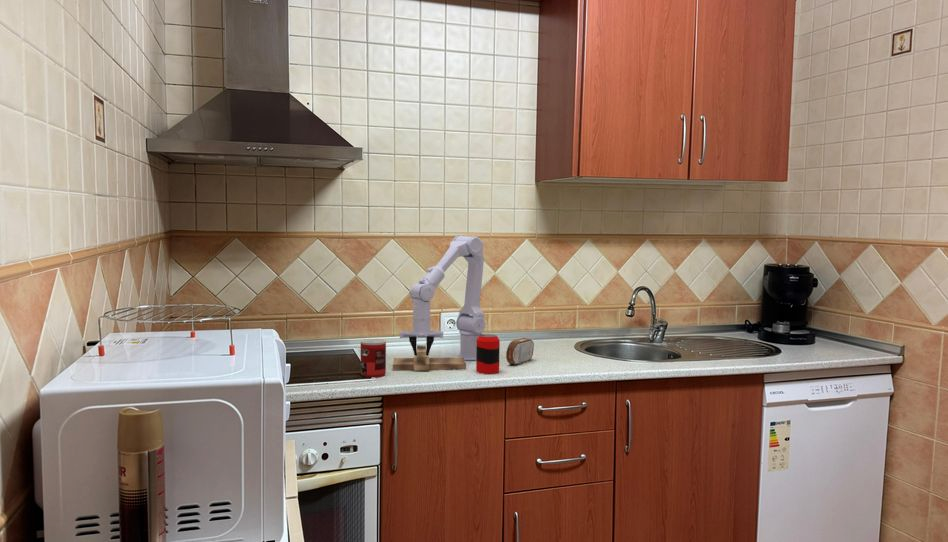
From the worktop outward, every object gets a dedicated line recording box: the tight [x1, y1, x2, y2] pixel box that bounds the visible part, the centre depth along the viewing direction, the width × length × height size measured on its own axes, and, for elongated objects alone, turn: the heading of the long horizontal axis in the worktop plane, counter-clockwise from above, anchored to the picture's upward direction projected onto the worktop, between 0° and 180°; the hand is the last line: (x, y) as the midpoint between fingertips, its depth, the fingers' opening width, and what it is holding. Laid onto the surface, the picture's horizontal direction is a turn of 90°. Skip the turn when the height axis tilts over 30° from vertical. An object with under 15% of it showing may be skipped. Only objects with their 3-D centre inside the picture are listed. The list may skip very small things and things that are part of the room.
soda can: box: [475, 333, 501, 375], centre depth 211 cm, size 8×8×12 cm
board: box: [392, 357, 467, 371], centre depth 217 cm, size 24×10×2 cm, turn 95°
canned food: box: [360, 338, 387, 378], centre depth 205 cm, size 8×8×11 cm
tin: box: [505, 337, 535, 366], centre depth 225 cm, size 15×3×8 cm, turn 145°
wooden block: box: [413, 344, 430, 372], centre depth 216 cm, size 5×12×6 cm, turn 5°
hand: (421, 358), depth 217 cm, fingers closed on wooden block, 3 cm apart
